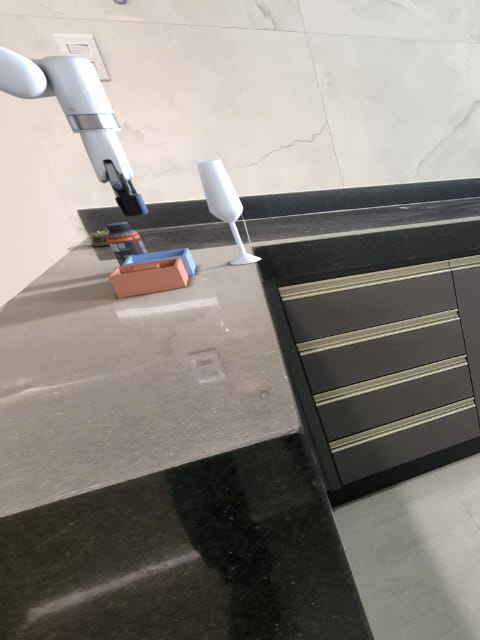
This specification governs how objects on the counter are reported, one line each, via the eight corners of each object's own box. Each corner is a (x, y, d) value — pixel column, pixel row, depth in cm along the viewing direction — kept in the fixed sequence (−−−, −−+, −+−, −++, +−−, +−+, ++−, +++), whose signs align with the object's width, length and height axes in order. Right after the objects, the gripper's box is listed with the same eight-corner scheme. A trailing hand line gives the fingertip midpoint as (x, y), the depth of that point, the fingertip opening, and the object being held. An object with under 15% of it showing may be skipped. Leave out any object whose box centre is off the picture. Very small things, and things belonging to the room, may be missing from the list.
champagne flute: (258, 256, 138) (222, 158, 128) (264, 260, 134) (228, 159, 123) (227, 261, 134) (188, 161, 124) (232, 266, 130) (192, 162, 119)
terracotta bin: (118, 298, 109) (107, 276, 107) (125, 287, 116) (115, 266, 114) (186, 286, 115) (177, 266, 113) (188, 276, 122) (180, 257, 120)
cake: (101, 249, 157) (90, 232, 154) (90, 247, 162) (79, 229, 159) (141, 239, 164) (131, 222, 161) (129, 237, 169) (119, 220, 166)
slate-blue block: (123, 217, 115) (114, 198, 114) (125, 214, 118) (117, 196, 116) (146, 214, 117) (138, 195, 116) (148, 212, 120) (140, 194, 119)
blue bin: (131, 284, 118) (122, 264, 116) (137, 275, 125) (128, 256, 123) (194, 274, 124) (185, 255, 122) (195, 266, 131) (188, 247, 129)
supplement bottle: (149, 264, 134) (129, 219, 130) (157, 267, 131) (136, 221, 126) (119, 270, 130) (97, 224, 125) (126, 274, 127) (104, 226, 122)
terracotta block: (141, 288, 113) (132, 270, 111) (143, 284, 116) (135, 266, 114) (165, 284, 115) (157, 266, 113) (166, 280, 118) (158, 263, 116)
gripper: (78, 125, 114) (119, 212, 122) (60, 125, 102) (107, 221, 110) (124, 123, 118) (160, 207, 126) (112, 123, 105) (153, 216, 113)
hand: (135, 213), depth 118 cm, fingers closed on slate-blue block, 4 cm apart
